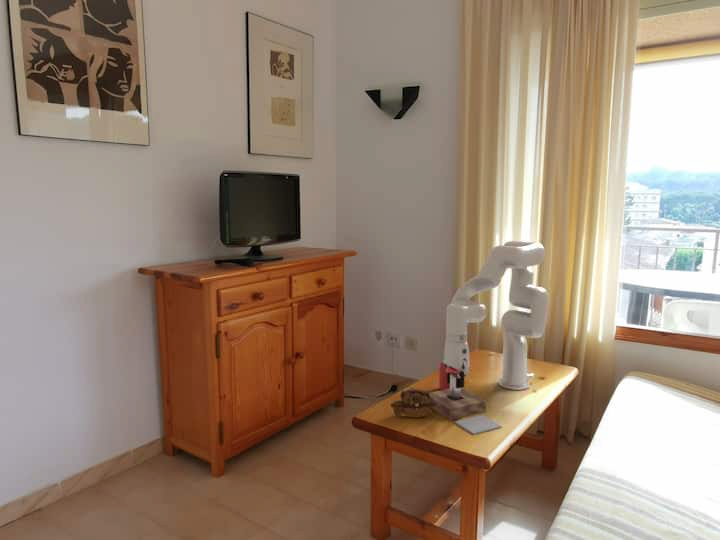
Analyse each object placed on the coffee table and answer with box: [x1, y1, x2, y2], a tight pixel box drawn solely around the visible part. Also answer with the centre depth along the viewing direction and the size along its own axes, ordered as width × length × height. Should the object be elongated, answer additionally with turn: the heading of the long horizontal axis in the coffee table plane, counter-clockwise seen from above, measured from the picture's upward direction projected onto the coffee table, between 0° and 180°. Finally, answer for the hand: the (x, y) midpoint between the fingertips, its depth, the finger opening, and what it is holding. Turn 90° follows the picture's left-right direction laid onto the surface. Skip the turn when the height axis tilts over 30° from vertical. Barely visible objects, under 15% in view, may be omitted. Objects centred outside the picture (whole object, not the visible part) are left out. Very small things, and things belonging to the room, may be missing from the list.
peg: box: [446, 367, 463, 401], centre depth 191 cm, size 7×7×15 cm
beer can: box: [438, 359, 450, 391], centre depth 209 cm, size 7×7×12 cm
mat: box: [454, 414, 503, 436], centre depth 177 cm, size 12×10×1 cm
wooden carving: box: [390, 387, 437, 419], centre depth 184 cm, size 16×5×10 cm, turn 95°
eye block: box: [428, 387, 487, 421], centre depth 192 cm, size 16×16×4 cm
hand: (455, 384), depth 191 cm, fingers closed on peg, 4 cm apart
